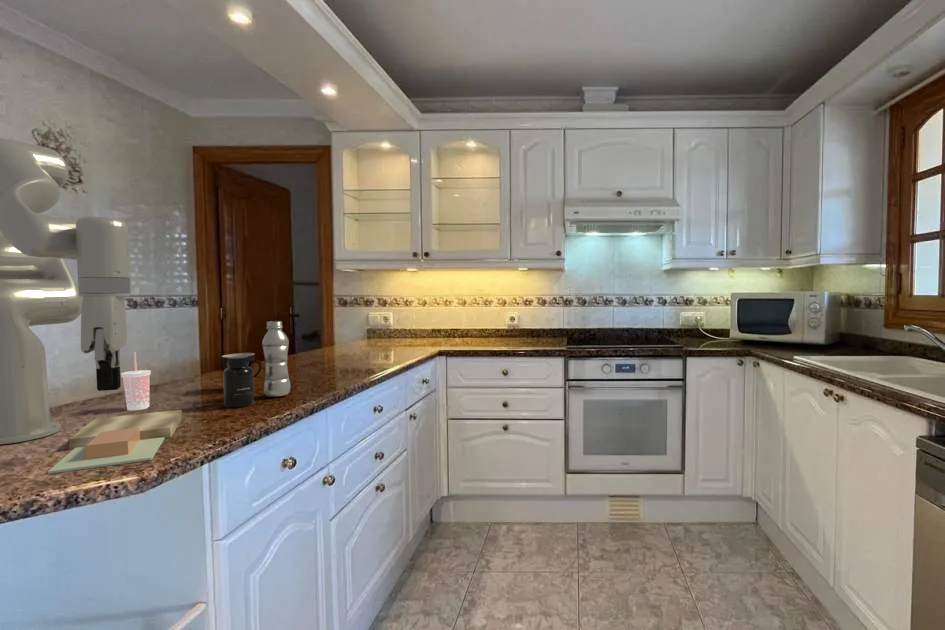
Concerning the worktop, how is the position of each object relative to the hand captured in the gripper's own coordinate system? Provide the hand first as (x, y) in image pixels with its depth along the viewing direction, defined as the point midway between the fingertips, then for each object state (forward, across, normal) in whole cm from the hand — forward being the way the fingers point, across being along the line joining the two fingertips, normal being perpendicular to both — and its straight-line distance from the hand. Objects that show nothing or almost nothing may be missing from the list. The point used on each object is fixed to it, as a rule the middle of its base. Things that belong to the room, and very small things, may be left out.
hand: (109, 389), depth 90 cm
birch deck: (+11, -11, +1) cm, 16 cm away
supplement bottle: (+12, -27, +20) cm, 36 cm away
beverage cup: (+12, -36, -2) cm, 38 cm away
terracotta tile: (+11, +2, +1) cm, 11 cm away
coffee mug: (+12, -47, +20) cm, 53 cm away
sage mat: (+11, +4, +1) cm, 12 cm away
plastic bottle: (+11, -33, +29) cm, 46 cm away
